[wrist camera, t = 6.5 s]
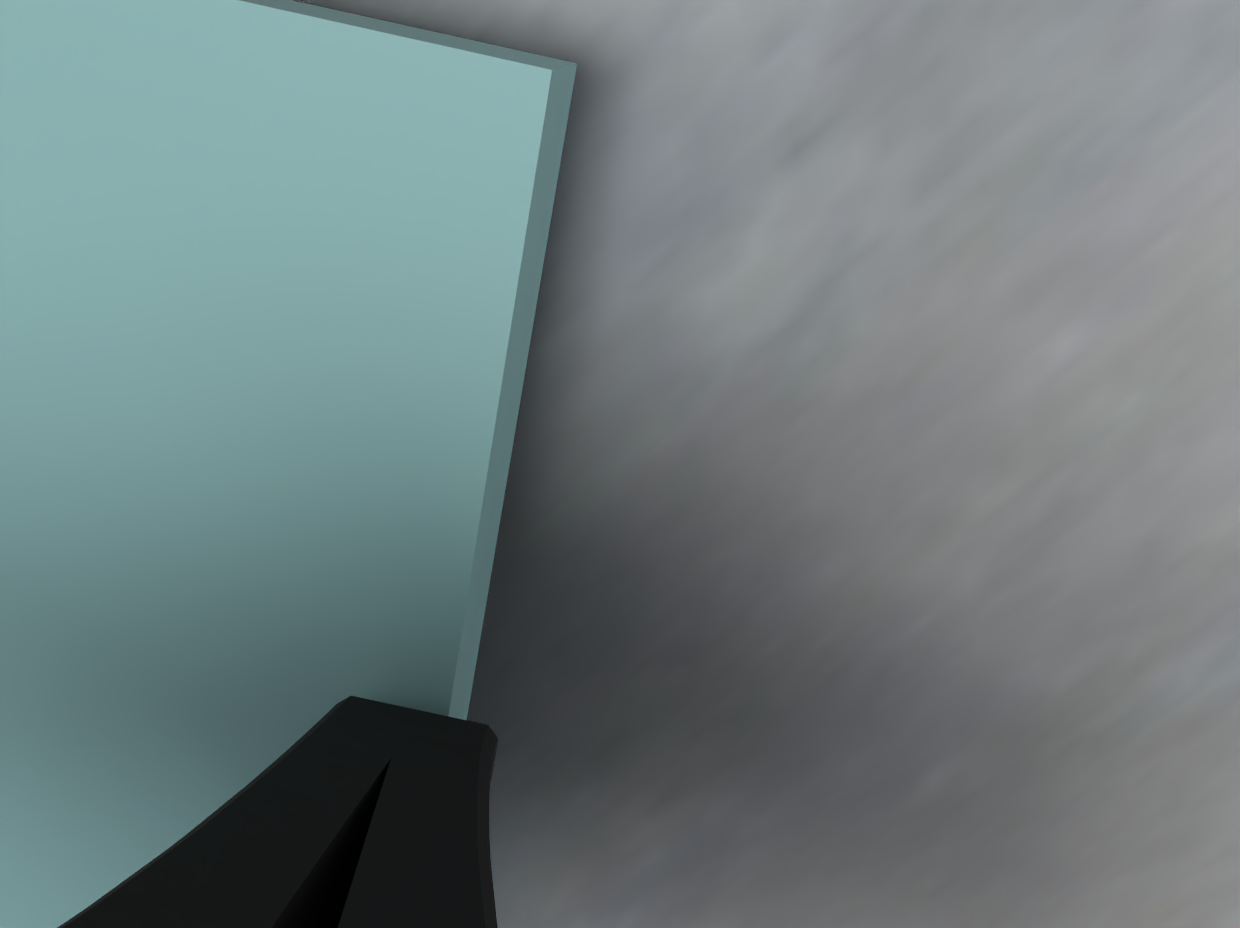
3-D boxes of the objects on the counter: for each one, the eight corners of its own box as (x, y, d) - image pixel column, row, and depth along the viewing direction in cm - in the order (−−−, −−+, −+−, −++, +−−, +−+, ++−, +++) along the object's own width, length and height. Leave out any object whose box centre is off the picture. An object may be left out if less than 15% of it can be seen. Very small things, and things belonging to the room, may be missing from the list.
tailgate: (-47, 948, 14) (405, 1090, 13) (-110, 1015, 13) (372, 1170, 13) (-100, -89, 9) (579, 63, 9) (-201, -97, 9) (548, 70, 8)
